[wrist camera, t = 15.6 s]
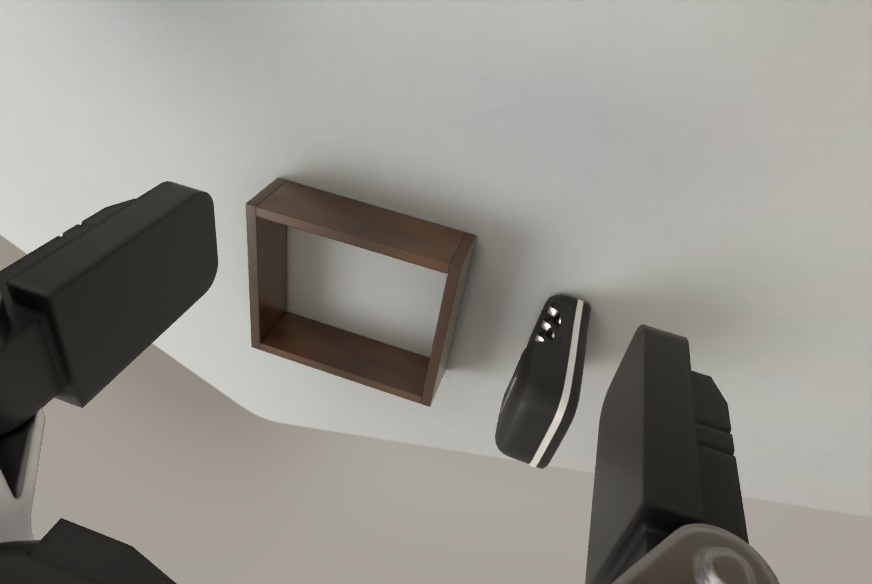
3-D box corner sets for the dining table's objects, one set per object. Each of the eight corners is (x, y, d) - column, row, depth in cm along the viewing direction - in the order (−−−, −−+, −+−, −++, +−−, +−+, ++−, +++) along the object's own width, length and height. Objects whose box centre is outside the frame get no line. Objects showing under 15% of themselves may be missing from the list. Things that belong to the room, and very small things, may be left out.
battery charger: (543, 281, 43) (515, 388, 34) (593, 299, 43) (579, 412, 34) (514, 349, 47) (483, 461, 38) (560, 366, 47) (539, 483, 38)
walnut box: (278, 315, 53) (251, 347, 49) (277, 177, 45) (245, 203, 41) (445, 370, 51) (430, 407, 47) (476, 235, 42) (461, 267, 39)
